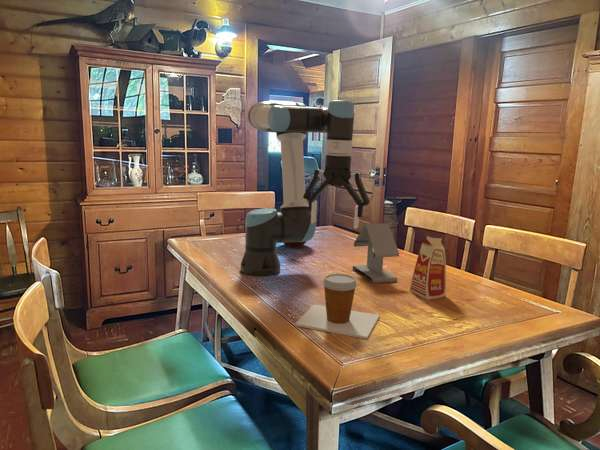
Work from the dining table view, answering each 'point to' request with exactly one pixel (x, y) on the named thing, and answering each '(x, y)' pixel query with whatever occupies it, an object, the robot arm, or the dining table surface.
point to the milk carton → (430, 270)
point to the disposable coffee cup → (339, 296)
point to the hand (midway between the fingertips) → (334, 224)
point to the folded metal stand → (377, 251)
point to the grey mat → (356, 325)
